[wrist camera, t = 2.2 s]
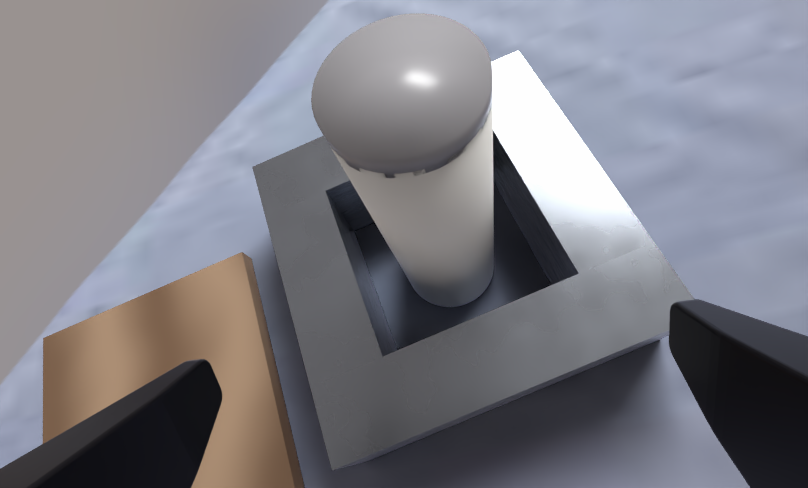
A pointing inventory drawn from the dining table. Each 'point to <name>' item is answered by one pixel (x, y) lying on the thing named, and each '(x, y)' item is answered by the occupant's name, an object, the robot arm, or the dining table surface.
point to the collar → (483, 335)
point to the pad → (171, 346)
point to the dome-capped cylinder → (418, 145)
